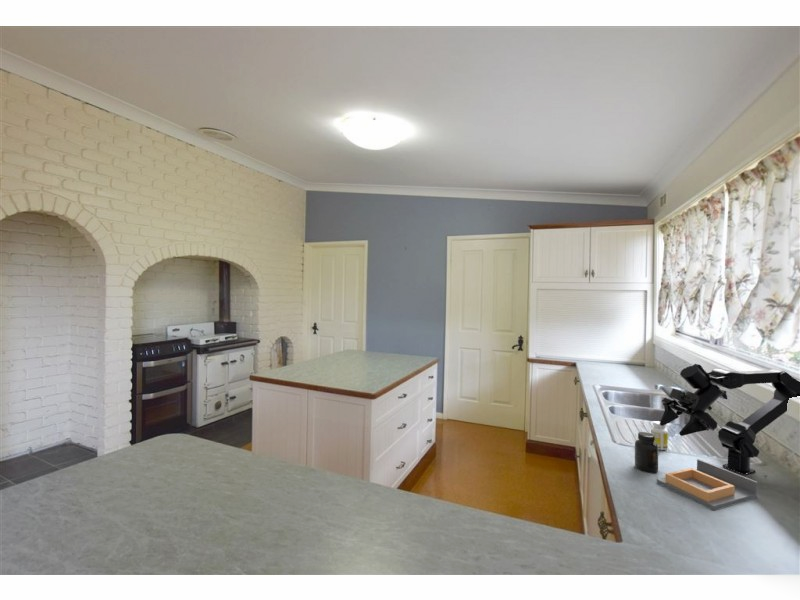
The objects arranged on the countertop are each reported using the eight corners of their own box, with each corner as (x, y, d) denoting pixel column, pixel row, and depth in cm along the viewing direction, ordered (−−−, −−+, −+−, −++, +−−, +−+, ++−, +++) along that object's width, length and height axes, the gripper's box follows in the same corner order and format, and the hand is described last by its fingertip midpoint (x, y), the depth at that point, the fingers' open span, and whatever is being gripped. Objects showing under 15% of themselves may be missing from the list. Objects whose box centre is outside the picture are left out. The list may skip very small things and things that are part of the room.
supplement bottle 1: (650, 464, 132) (651, 431, 132) (662, 474, 125) (663, 438, 125) (630, 463, 133) (631, 430, 132) (640, 473, 126) (641, 437, 126)
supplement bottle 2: (664, 445, 148) (665, 421, 148) (669, 451, 143) (670, 425, 143) (648, 443, 150) (649, 419, 150) (653, 449, 145) (653, 424, 145)
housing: (698, 472, 126) (698, 459, 126) (757, 497, 111) (757, 481, 111) (656, 482, 119) (657, 468, 119) (713, 510, 104) (713, 493, 104)
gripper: (667, 375, 138) (636, 404, 138) (709, 388, 119) (673, 422, 119) (688, 396, 138) (657, 426, 138) (733, 413, 119) (697, 447, 119)
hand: (670, 429), depth 129 cm, fingers open, 9 cm apart
